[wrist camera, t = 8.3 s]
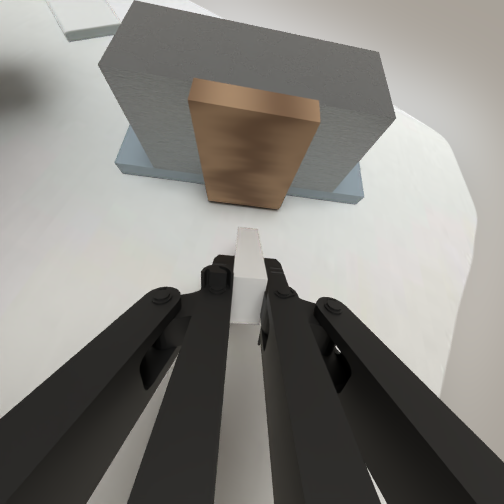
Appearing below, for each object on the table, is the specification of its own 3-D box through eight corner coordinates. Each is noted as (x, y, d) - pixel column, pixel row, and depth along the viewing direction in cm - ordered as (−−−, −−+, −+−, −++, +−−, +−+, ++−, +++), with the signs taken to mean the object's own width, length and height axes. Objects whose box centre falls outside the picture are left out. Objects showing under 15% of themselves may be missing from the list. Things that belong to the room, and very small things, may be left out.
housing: (122, 173, 20) (26, 51, 11) (143, 116, 23) (82, -18, 14) (355, 204, 22) (446, 127, 13) (348, 149, 25) (418, 54, 16)
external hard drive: (72, 47, 26) (47, 2, 29) (128, 38, 28) (100, -4, 31) (62, 31, 25) (36, -15, 27) (122, 22, 27) (93, -21, 29)
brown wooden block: (208, 200, 20) (187, 99, 10) (221, 125, 23) (215, 0, 14) (278, 209, 20) (320, 122, 11) (280, 135, 24) (313, 21, 15)
